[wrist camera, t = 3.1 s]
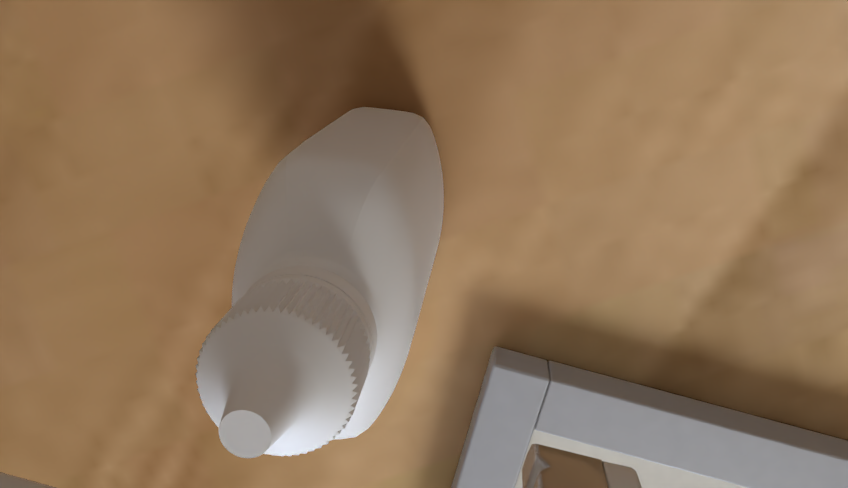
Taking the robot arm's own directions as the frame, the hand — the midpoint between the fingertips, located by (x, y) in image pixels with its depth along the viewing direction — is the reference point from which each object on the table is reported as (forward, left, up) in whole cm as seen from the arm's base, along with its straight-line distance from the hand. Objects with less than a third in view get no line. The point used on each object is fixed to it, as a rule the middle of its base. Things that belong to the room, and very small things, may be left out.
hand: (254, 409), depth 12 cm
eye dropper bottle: (0, 0, -11) cm, 11 cm away
